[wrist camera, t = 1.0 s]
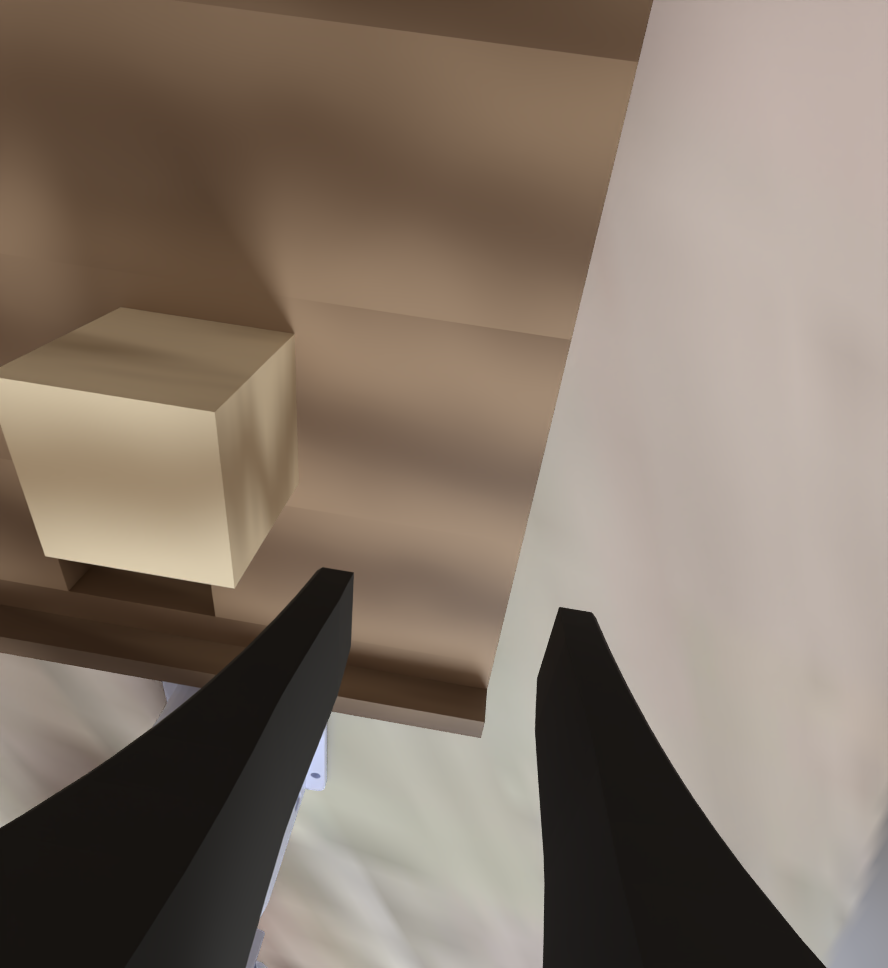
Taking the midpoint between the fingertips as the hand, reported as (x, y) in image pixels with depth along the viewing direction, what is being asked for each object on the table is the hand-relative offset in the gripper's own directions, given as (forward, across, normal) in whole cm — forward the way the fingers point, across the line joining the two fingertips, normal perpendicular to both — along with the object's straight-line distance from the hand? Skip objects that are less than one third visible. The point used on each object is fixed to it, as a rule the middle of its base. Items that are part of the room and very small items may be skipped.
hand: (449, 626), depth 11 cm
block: (+7, +8, 0) cm, 11 cm away
